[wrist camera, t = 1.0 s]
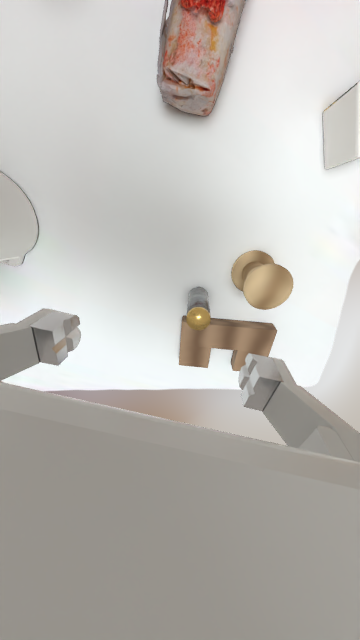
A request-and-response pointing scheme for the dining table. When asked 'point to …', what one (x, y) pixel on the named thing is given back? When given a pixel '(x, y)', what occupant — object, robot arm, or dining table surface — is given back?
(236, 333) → the notch board
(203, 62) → the food item
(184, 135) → the dining table surface
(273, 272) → the tan spool
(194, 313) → the gold lidded spice jar
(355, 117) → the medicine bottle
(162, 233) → the dining table surface
